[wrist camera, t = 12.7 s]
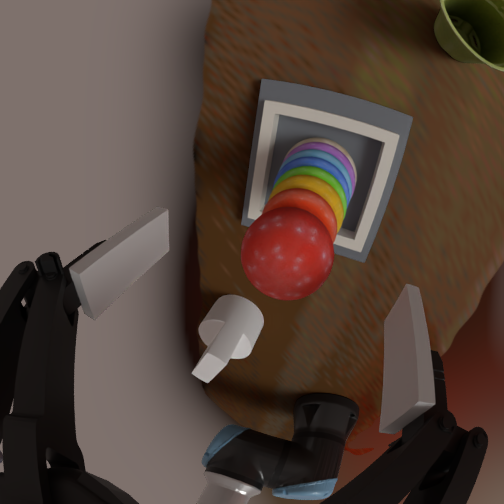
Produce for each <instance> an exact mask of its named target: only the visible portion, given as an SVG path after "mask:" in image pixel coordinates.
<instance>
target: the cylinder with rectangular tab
mask: <svg viewBox="0 0 504 504" xmlns="http://www.w3.org/2000/svg"><path fill="white" fill-rule="evenodd" d="M263 323H264V319H263V315H262V313H261V311H260V310H259V309H258V307H257V306H256V305H255V304H253V303H252V302H251V301H249V300H247V299H245V298H243V297H240V296H237V295H224V296H222V297H220V298H219V299H218V300H217V301H216V302H215V304H214V305H213V306H212V308H211V309H210V311H209V312H208V314H207V315H206V317H205V318H204V320H203V321H202V322H201V324H200V326H199V334H200V337H201V339H202V340H203V342H204V343H205V344H206V345H207V346H208V347H207V349H206V351H205V352H204V354H203V355H202V357H201V359H200V360H199V362H198V364H197V365H196V367H195V368H194V370H193V372H192V374H193V375H194V376H196V377H197V378H199V379H200V380H202V381H204V382H206V383H209V382H210V381H211V380H212V379H213V378H214V377H215V376H216V375H217V374H218V373H219V372H220V371H221V370H222V369H223V368H224V367H225V366H226V365H227V363H228V361H229V359H230V358H233V359H241V358H245V357H247V356H248V355H249V354H250V353H251V351H252V349H253V346H254V344H255V342H256V340H257V338H258V336H259V333H260V331H261V329H262V327H263Z"/></svg>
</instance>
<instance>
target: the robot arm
mask: <svg viewBox="0 0 504 504" xmlns="http://www.w3.org/2000/svg"><path fill="white" fill-rule="evenodd" d="M168 251H169V224H168V209H164V208H161V207H156V208H154V209H153V210H151V211H150V212H148V213H147V214H145V215H144V216H142V217H141V218H139V219H137V220H136V221H134V222H133V223H131V224H130V225H128V226H127V227H125V228H124V229H123V230H121V231H119V232H118V233H116V234H115V235H114V236H112V237H111V238H109V239H108V240H104V241H101V242H99V243H96V244H95V245H93V246H92V247H91V248H89V250H86V251H85V252H84V253H83V254H81V255H80V256H78V257H77V258H76V259H74V260H73V261H72V262H70V263H69V264H68V265H66V266H65V267H64V268H63V267H62V263H61V260H60V257H59V255H58V254H57V253H55V252H48V253H45V254H42V255H41V256H40V257H38V258H37V260H36V261H35V263H36V266H37V269H38V271H37V270H36V269H35V266H34V264H33V262H31V261H24V262H22V263H20V264H18V265H17V266H16V267H15V268H14V270H13V271H12V273H11V274H10V276H9V277H8V278H7V280H6V281H5V283H4V284H3V286H2V287H1V289H0V443H1V441H2V438H3V454H2V452H1V451H0V463H1V462H2V461H3V464H4V472H0V504H139V503H138V502H137V501H135V500H134V499H133V498H132V497H131V496H130V495H129V494H127V493H126V492H124V491H123V490H121V489H119V488H118V487H116V486H115V485H113V484H112V483H110V482H109V481H107V480H104V479H102V478H100V477H97V476H95V475H93V474H90V473H88V472H86V471H85V465H84V459H83V455H82V452H81V450H80V448H79V446H78V443H77V440H76V430H75V413H74V363H75V346H76V334H77V323H78V315H79V314H78V309H77V308H78V307H79V306H82V308H83V311H84V313H85V314H86V315H87V316H89V317H90V318H92V319H93V320H96V319H97V318H98V317H99V316H100V315H101V314H102V313H103V312H104V311H105V310H106V309H107V308H108V307H109V306H110V305H111V304H112V303H113V302H114V301H115V300H116V299H117V298H118V297H119V296H120V295H121V294H123V292H125V291H126V290H127V289H128V288H129V287H130V286H131V285H132V284H133V283H134V282H135V281H136V280H137V279H138V278H140V277H141V275H143V274H144V273H145V272H146V271H147V270H148V269H149V268H150V267H152V266H153V265H154V264H155V263H156V262H157V261H158V260H159V259H160V258H162V257H163V256H164V255H165V254H166V253H167V252H168ZM23 298H24V300H25V302H26V305H25V306H24V307H23V305H22V303H21V301H22V299H23ZM443 372H444V369H443V362H442V360H441V358H440V355H439V353H438V352H436V351H432V350H430V343H429V336H428V330H427V325H426V319H425V314H424V309H423V304H422V300H421V295H420V291H419V288H418V287H415V286H412V285H409V284H406V285H405V287H404V289H403V291H402V292H401V294H400V296H399V298H398V299H397V301H396V303H395V304H394V306H393V308H392V309H391V311H390V313H389V314H388V316H387V318H386V319H385V321H384V378H383V395H382V408H381V418H380V429H379V432H382V433H389V434H395V433H397V432H399V431H400V430H401V429H403V430H402V437H401V438H399V439H397V440H396V441H394V442H392V443H391V444H389V447H390V446H391V447H390V448H389V449H387V450H386V451H385V452H384V453H383V454H382V456H380V457H379V458H378V459H377V460H376V461H375V462H373V463H372V464H371V465H370V466H369V467H368V468H367V469H366V470H364V471H363V472H362V473H361V474H359V475H358V476H357V477H356V478H354V479H353V480H352V481H351V482H349V483H348V484H347V485H345V486H344V487H343V488H341V489H340V490H339V491H337V492H336V493H335V494H333V495H332V496H330V495H331V494H332V491H333V489H334V486H335V483H336V481H337V476H338V473H339V469H340V465H341V460H342V456H343V452H344V447H345V443H346V439H347V438H348V436H349V434H350V433H351V431H352V429H353V427H354V426H355V424H356V422H357V420H358V415H359V407H358V405H357V404H356V403H355V402H353V401H352V400H350V399H348V398H345V397H342V396H338V395H333V394H310V395H306V396H303V397H301V398H299V399H298V400H297V401H296V404H295V407H294V410H293V417H294V435H293V438H292V441H288V440H285V439H281V438H277V437H274V436H270V435H267V434H264V433H261V432H258V431H255V430H252V429H250V428H244V427H241V426H238V425H234V424H232V425H228V426H226V427H224V428H223V429H222V430H221V431H220V432H219V433H218V434H217V435H216V436H215V438H214V439H213V440H212V442H211V443H210V445H209V447H208V448H207V450H206V451H207V452H206V453H205V454H204V456H203V458H202V464H203V465H204V467H206V470H205V472H204V475H205V477H206V480H207V485H206V487H205V489H204V490H203V492H202V494H201V496H200V498H199V500H198V501H197V503H196V504H247V503H248V500H249V498H250V497H252V496H255V495H257V494H259V493H261V490H262V488H263V486H264V487H268V488H272V489H273V490H272V494H273V495H274V496H277V497H282V498H289V499H300V500H317V499H324V498H327V497H328V496H330V497H329V498H327V499H326V500H324V501H323V502H321V503H320V504H398V503H399V502H400V501H401V500H402V499H403V498H404V497H405V496H406V495H407V494H408V493H409V492H410V493H409V495H408V496H407V498H406V499H405V501H404V503H403V504H466V503H467V501H468V499H469V496H470V494H471V492H472V489H473V487H474V484H475V482H476V479H477V476H478V474H479V471H480V468H481V465H482V462H483V459H484V456H485V453H486V449H487V446H488V437H487V434H486V432H485V431H484V429H482V428H481V427H475V428H473V429H472V430H470V431H469V432H468V431H466V430H464V429H462V428H460V427H458V426H457V423H456V419H455V417H454V415H453V414H452V413H451V412H449V411H448V410H447V398H446V386H445V381H444V380H445V378H444V373H443ZM13 399H14V402H13ZM12 402H13V412H12V413H11V414H9V413H10V409H11V406H12ZM46 460H47V461H48V462H49V464H50V466H51V468H47V464H46Z"/></svg>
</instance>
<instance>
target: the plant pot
mask: <svg viewBox="0 0 504 504" xmlns="http://www.w3.org/2000/svg"><path fill="white" fill-rule="evenodd" d="M439 1H440V6H441V8H440V11H439V14H438V16H437V18H436V20H435V23H434V33H435V36H436V39H437V41H438V43H439V44H440V46H441V47H442V48H443V49H444V50H445V51H446V52H447V53H448V54H449V55H450V56H451V57H452V58H454V59H456V60H458V61H460V62H463V63H481V64H486V65H488V66H490V67H492V68H494V69H496V70H499V71H504V0H439ZM450 18H452V19H455V20H457V21H458V22H454V21H451V20H450ZM472 36H474V37H475V39H476V42H477V46H475V43H474V39H473V37H472Z"/></svg>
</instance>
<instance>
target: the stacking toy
mask: <svg viewBox="0 0 504 504" xmlns="http://www.w3.org/2000/svg"><path fill="white" fill-rule="evenodd" d="M356 181H357V172H356V167H355V164H354V161H353V159H352V158H351V156H350V155H349V153H348V152H347V151H346V150H345V149H344V148H343V147H342V146H341V145H340V144H338V143H336V142H334V141H332V140H330V139H326V138H309V139H305V140H303V141H300V142H298V143H297V144H296V145H294V146H293V147H292V148H291V149H290V150H289V151H288V153H287V154H286V156H285V158H284V161H283V163H282V165H281V167H280V169H279V171H278V174H277V176H276V178H275V181H274V185H273V190H272V193H271V194H270V197H269V200H268V202H267V204H266V205H265V207H264V209H263V212H262V215H261V216H259V217H258V218H257V219H256V220H255V221H254V222H253V223H252V224H251V226H250V227H249V228H248V230H247V232H246V234H245V236H244V239H243V242H242V248H241V261H242V265H243V268H244V271H245V274H246V276H247V277H248V279H249V280H250V282H251V283H252V284H253V285H254V286H255V287H256V288H257V289H258V290H259V291H260V292H262V293H264V294H265V295H267V296H270V297H272V298H275V299H280V300H296V299H300V298H303V297H306V296H308V295H310V294H312V293H313V292H315V291H316V290H317V289H319V288H320V287H321V286H322V284H323V283H324V282H325V280H326V279H327V278H328V276H329V274H330V272H331V269H332V265H333V260H334V247H333V243H334V241H335V239H336V235H337V233H338V232H339V230H340V228H341V226H342V222H343V220H344V218H345V214H346V210H347V207H348V204H349V202H350V199H351V197H352V195H353V193H354V189H355V186H356Z"/></svg>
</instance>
